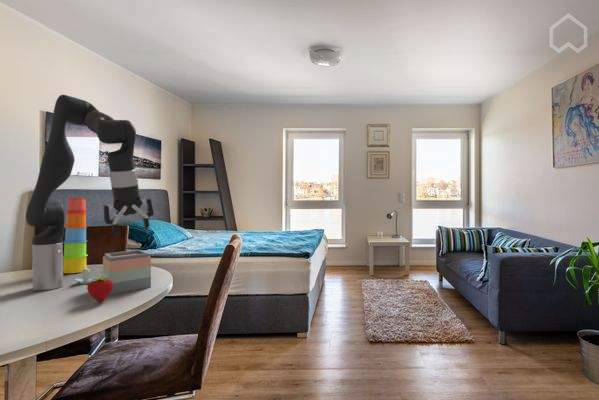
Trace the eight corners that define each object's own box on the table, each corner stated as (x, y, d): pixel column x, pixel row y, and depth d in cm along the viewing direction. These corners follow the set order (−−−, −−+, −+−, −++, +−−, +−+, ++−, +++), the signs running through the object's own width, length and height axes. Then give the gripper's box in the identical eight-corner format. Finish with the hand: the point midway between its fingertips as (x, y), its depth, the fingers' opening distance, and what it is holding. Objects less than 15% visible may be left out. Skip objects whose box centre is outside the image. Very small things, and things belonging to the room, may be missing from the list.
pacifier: (76, 282, 130) (74, 286, 124) (76, 267, 130) (74, 270, 125) (97, 280, 133) (96, 283, 128) (97, 265, 133) (96, 268, 128)
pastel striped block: (109, 294, 113) (109, 258, 113) (103, 287, 122) (102, 253, 122) (150, 287, 123) (150, 253, 122) (142, 280, 132) (141, 249, 131)
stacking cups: (60, 271, 148) (59, 197, 147) (86, 267, 155) (85, 197, 154) (62, 275, 140) (61, 198, 140) (90, 271, 147) (89, 198, 146)
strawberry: (88, 301, 106) (87, 272, 106) (113, 297, 110) (113, 269, 110) (86, 306, 101) (85, 275, 101) (113, 302, 105) (112, 273, 105)
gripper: (145, 179, 108) (151, 224, 112) (97, 185, 99) (105, 233, 103) (151, 182, 102) (157, 229, 106) (100, 189, 94) (109, 240, 98)
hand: (132, 231), depth 105 cm, fingers open, 8 cm apart
